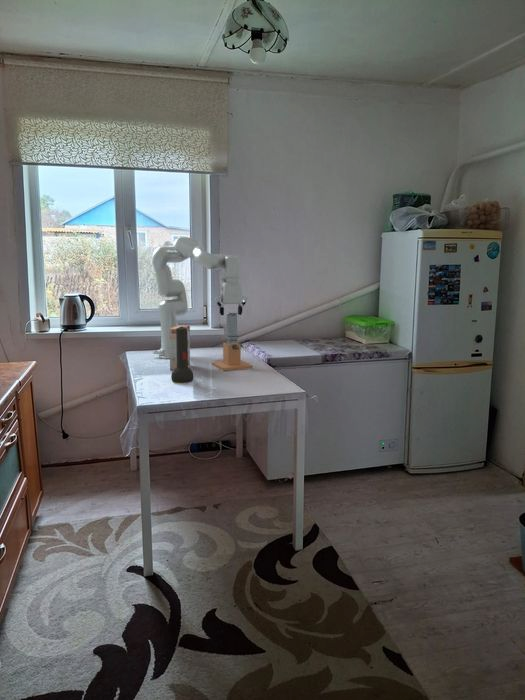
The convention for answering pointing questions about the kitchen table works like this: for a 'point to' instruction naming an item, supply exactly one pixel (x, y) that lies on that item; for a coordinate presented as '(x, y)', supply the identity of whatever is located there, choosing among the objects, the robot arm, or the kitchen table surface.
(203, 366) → the kitchen table surface
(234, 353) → the stand
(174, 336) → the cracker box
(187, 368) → the flashlight
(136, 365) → the kitchen table surface
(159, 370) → the kitchen table surface
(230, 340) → the steel column
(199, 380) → the kitchen table surface
